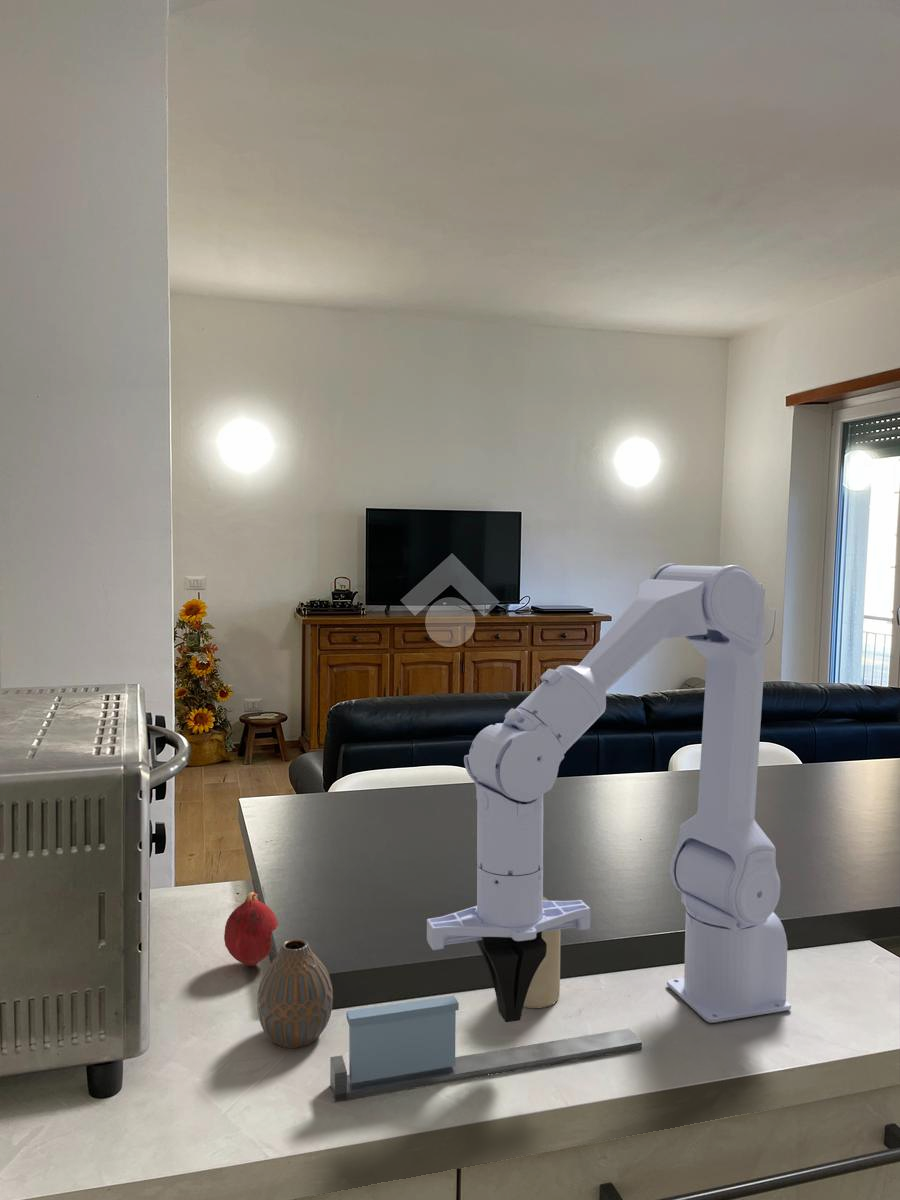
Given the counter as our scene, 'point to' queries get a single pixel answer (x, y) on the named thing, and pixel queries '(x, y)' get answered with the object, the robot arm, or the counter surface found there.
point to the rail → (486, 1063)
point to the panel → (401, 1038)
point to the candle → (546, 974)
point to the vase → (295, 996)
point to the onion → (250, 931)
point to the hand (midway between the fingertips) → (509, 1015)
